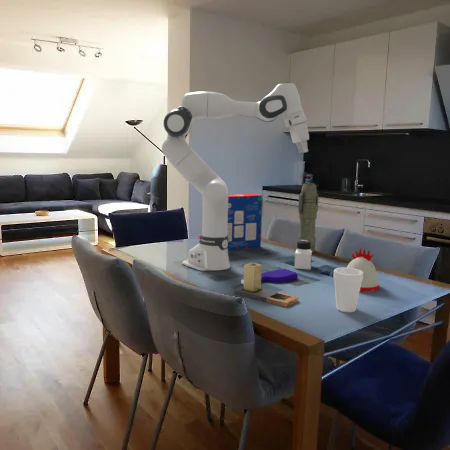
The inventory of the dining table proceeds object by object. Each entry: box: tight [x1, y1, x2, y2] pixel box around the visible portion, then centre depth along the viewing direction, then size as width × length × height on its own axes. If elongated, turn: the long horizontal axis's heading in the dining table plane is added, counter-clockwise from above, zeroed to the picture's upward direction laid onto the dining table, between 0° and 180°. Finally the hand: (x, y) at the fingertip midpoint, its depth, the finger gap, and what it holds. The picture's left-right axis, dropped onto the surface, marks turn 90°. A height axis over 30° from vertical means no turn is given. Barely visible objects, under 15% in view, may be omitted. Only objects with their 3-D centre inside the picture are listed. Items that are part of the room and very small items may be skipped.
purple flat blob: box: [240, 268, 298, 285], centre depth 186 cm, size 3×11×24 cm
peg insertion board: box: [234, 285, 299, 308], centre depth 165 cm, size 22×8×2 cm, turn 51°
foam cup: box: [333, 267, 363, 313], centre depth 154 cm, size 10×9×13 cm
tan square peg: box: [243, 262, 262, 293], centre depth 168 cm, size 4×4×11 cm
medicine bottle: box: [294, 240, 313, 270], centre depth 207 cm, size 7×7×12 cm
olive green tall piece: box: [297, 182, 319, 253], centre depth 237 cm, size 9×12×35 cm
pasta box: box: [227, 193, 263, 252], centre depth 242 cm, size 28×8×28 cm, turn 117°
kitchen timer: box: [345, 248, 380, 293], centre depth 180 cm, size 14×14×15 cm
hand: (303, 152), depth 197 cm, fingers open, 8 cm apart
